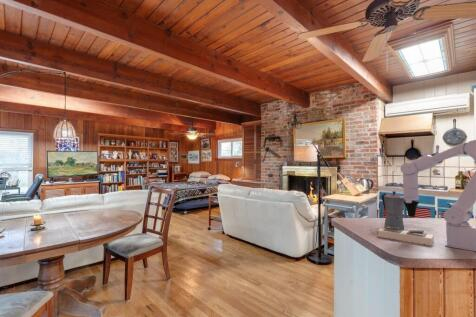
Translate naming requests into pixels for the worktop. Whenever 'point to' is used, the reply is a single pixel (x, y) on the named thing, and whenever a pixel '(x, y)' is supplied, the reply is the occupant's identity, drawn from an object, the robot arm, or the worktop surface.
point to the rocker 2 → (416, 231)
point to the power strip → (406, 236)
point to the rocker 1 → (393, 228)
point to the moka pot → (393, 210)
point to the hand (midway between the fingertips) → (411, 216)
